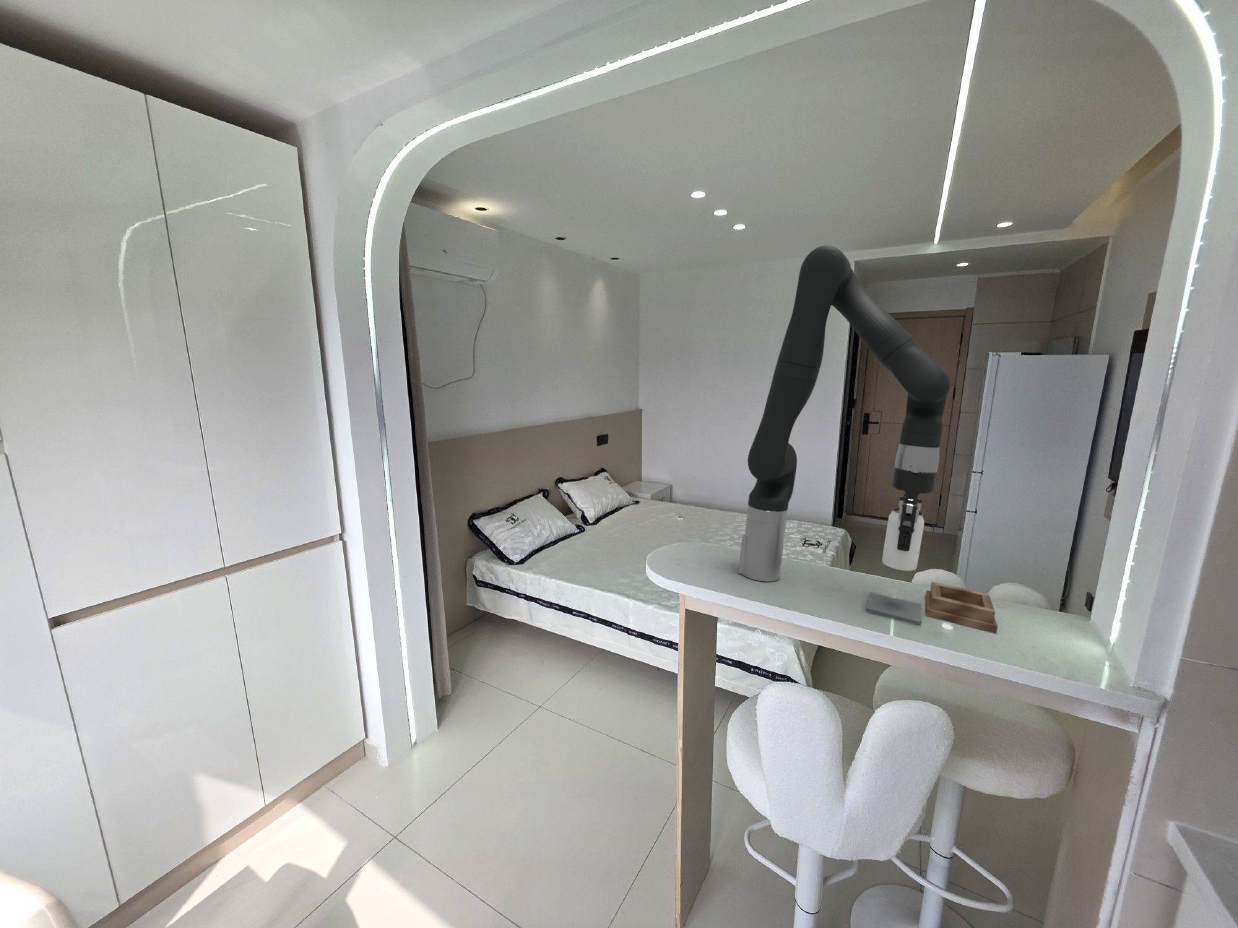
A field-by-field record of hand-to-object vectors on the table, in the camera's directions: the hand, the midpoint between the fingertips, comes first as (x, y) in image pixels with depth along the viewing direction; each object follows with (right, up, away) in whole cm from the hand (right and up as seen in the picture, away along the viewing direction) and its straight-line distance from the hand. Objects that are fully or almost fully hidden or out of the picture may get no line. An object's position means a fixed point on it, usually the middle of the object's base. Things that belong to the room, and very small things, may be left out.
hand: (903, 545), depth 104 cm
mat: (-1, -14, +2) cm, 14 cm away
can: (0, -5, +1) cm, 5 cm away
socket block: (+13, -15, +2) cm, 20 cm away
